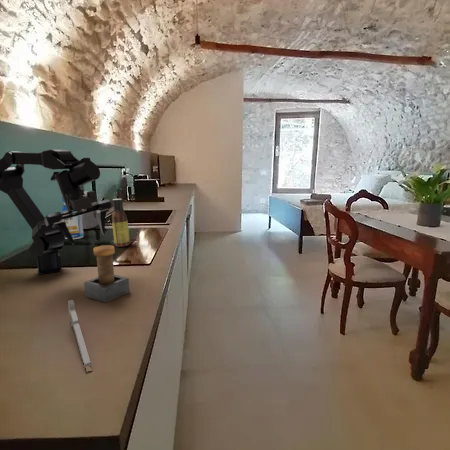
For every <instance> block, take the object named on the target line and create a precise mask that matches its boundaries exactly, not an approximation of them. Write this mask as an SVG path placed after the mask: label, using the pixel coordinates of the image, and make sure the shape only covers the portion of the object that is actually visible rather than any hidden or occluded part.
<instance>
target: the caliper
mask: <svg viewBox="0 0 450 450" xmlns="http://www.w3.org/2000/svg"><path fill="white" fill-rule="evenodd" d="M67 302H68V304H67V305H68V316H69V324H71V325H70V328H71V329H73V332H74V336H75V339H76V343H77V345H78V346H77V347H78V350H79V353H80V356H81V360H83V361H82V364H83V363H84V365H83V367H84V366H85V367H87V366H88V367H89V365H90V366H91V367H92V364H91V359H90V356H89V352H88V349H87V346H86V342H85V339H84V336H83V333H82V329H81V326H80V325H81V324H80V322H79V318H78V315H77V312H76V308H75V301H74V299H70V300H68V301H67ZM72 327H73V328H72Z"/></svg>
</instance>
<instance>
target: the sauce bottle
mask: <svg viewBox="0 0 450 450" xmlns="http://www.w3.org/2000/svg"><path fill="white" fill-rule="evenodd" d="M111 203H112V206H113V212H112V214H111V224H112V235H113V242H114V247H118V248H122V247H128V246H129V245H130V233H129V224H128V217H127V214H126V212H125V210H124V205H123V203H124V201H123V198H113V199H112V201H111Z"/></svg>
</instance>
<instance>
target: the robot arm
mask: <svg viewBox="0 0 450 450" xmlns="http://www.w3.org/2000/svg"><path fill="white" fill-rule="evenodd" d="M12 165H15V167H13V166H12ZM25 165H36V166H42V167H43V168H46V169H49V170H61V171H53V173H52V176H51V177H50V181H54V182H55V181H56V182H57V185H58V187H59V190H60V193H61V197H62V196H63V200H64V202H65V204H66V207H67V211H68V212H67V213H63V212H62V213H61V212H60V211H57V212H54V213H48V214H46V216H44V214H43V213H42V212H41V211H40V209H39V207H38V206H37V205H36V203H35V202H34V201H33V199H32V198H31V197H30V195H29V194H28V192H27V191H26V189H25V188H24V178H23V175H24V173H25ZM100 177H101V170H100V168H99V167H98V166H97V164H96V163H94V162H93V161H92V160H91V158H90V157H83V158H81V159H80V160H79V159H78V158H77V157H76V156H74V153H72V151H70V150H68V149H46V150H42V151H41V152H25V151H15V150H12V151H11V150H10V151H6V152H5V153H4V155H3V157H2V158H1V159H0V191H1V192H2V193H4V194H6V195H7V196H8V197H9V198H10V200H11V201H12V202H13V204H14V206H15V207H16V208H17V210H18V212H19V213H20V214H21V216H22V217H23V218H24V220H25V222H26V223H27V224H28V226H29V227H30V228H31V239H32V240H33V242H32V243H31V245H30V246H29V248H28V252H29V254H30V256H35V257H36V262H37V274H38V275H43V274H51V273H58V272H61V271H62V268H63V265H62V256H61V254H60V253H59V251H63V250H64V245H65V240H68V241H69V242H70V244H71V245H75V241H74V239H73V238H72V236H71V234H70V232H69V230H68V228H67V226H66V223H65V221H64V222H63V220H65V219H68V218H72V217H76V216H79V215H83V214H87V213H90V212H94V211H97V213H98V214H96V217H97V220H98V223H99V225H98V227H99V229H100V232H101V234H102V235H103V236H104V235H105V234H106V215H107V214H108V212H110V209H112V208H114V206H113V202H112V201H111V200H110V199H108V198H107V199H104V200H100V201H99V200H98V202H97V199H98V197H97V194H96V192H95V190H90V191H89V192H87V195H85V194H84V192H85V191H84V190H83V189H82V186H84V185H87V184H90V183H92V182H94V181H96V180H99V179H100ZM94 202H97V203H95V204H94V206H92V203H94ZM83 209H84V210H85V209H86V211H84V210H83ZM81 210H82V211H81ZM76 211H77V212H76ZM72 212H75V213H72ZM64 235H65V236H64ZM105 236H106V235H105ZM65 237H66V238H67V239H65Z"/></svg>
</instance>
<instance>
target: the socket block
mask: <svg viewBox="0 0 450 450" xmlns="http://www.w3.org/2000/svg"><path fill="white" fill-rule="evenodd" d="M114 280H115V282H113V283H110V284H108V285H102V284H99V279H98V276H96V277H94V278H92V279H89V280H86V281H85V282H84V283H83V285H84V286H83V287H84V295H85V297H86V298H89V299H94V300H97V301H98V302H102V303H108V302H111V301H113V300H115V299H117V298H119V297H121V296H123V295H125V294H128V293H130V281H129V277H126V276H122V275H118V274H114Z"/></svg>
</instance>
